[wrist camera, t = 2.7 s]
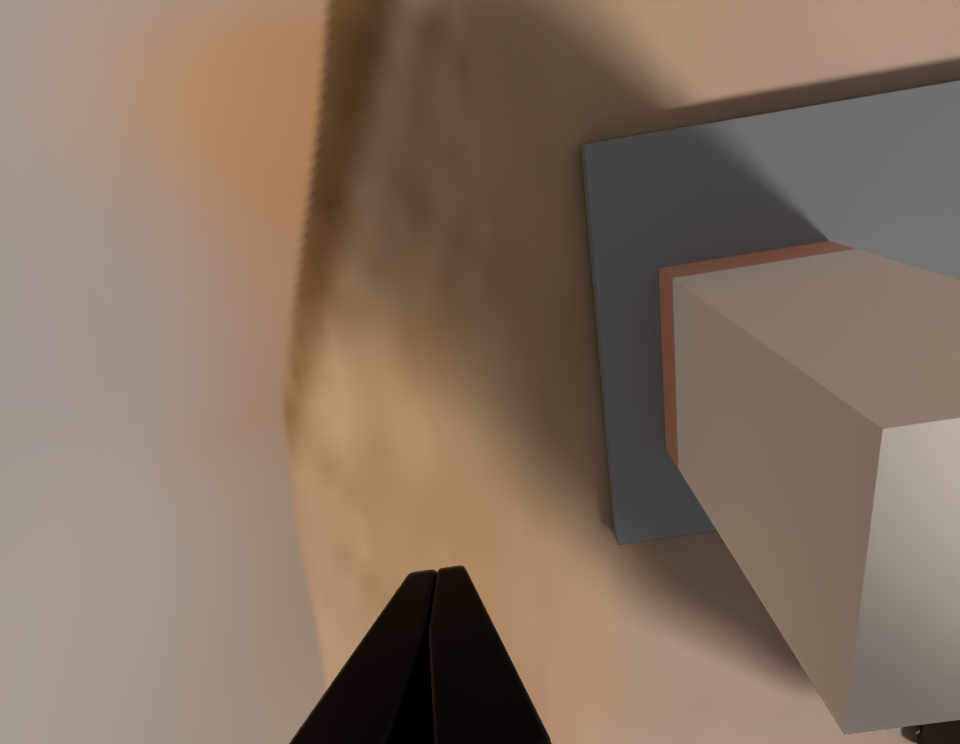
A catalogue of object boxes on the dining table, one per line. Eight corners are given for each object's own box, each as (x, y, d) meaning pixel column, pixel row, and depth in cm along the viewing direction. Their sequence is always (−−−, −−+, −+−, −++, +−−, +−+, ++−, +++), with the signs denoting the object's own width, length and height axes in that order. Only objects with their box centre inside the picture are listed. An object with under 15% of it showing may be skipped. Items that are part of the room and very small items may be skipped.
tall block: (829, 240, 14) (1264, 372, 6) (815, 427, 15) (1134, 698, 8) (658, 267, 14) (882, 429, 6) (666, 449, 16) (843, 734, 8)
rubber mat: (1176, 42, 13) (1203, 39, 12) (1060, 470, 17) (1077, 480, 16) (580, 144, 13) (584, 145, 13) (614, 533, 17) (618, 544, 17)
